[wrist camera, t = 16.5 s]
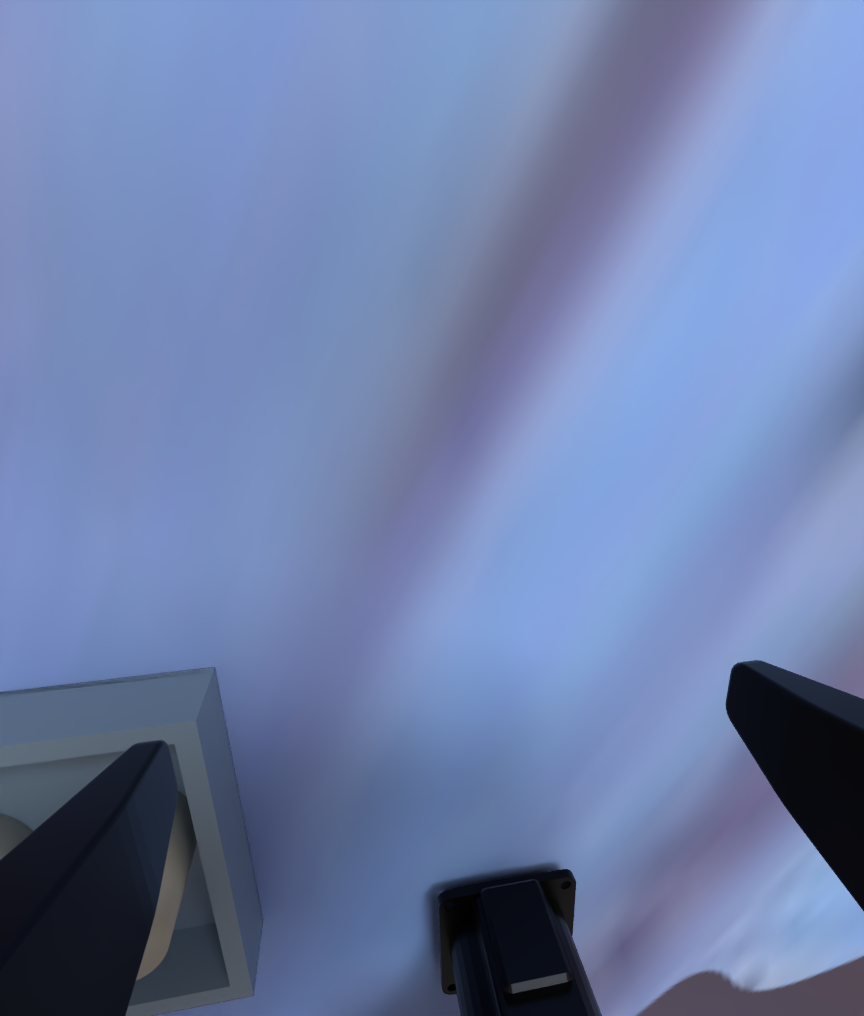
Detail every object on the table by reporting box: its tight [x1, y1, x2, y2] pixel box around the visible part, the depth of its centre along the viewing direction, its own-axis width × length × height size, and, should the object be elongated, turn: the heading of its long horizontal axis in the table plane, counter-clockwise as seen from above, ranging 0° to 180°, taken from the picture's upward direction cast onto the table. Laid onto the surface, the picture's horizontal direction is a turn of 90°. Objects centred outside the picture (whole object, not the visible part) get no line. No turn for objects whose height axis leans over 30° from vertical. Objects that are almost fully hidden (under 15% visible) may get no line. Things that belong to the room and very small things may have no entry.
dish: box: [0, 667, 263, 1016], centre depth 21 cm, size 14×14×3 cm
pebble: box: [136, 791, 197, 981], centre depth 20 cm, size 4×4×4 cm
